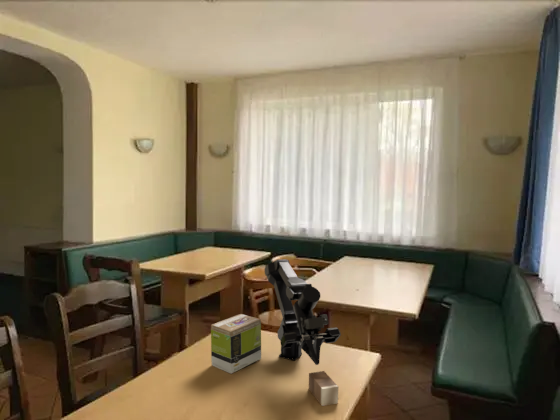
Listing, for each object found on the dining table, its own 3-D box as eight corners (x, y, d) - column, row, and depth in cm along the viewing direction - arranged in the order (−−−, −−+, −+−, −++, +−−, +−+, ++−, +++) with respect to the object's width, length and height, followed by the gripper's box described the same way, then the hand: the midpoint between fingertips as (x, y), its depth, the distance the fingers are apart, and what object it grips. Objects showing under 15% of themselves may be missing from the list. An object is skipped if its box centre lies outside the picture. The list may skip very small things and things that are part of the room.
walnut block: (308, 388, 131) (321, 405, 122) (308, 373, 131) (322, 389, 121) (323, 386, 133) (337, 403, 123) (324, 370, 132) (338, 386, 123)
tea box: (241, 351, 157) (241, 312, 156) (261, 359, 151) (262, 318, 149) (210, 365, 146) (210, 323, 144) (230, 375, 139) (231, 330, 138)
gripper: (283, 308, 131) (295, 357, 122) (339, 303, 137) (354, 350, 128) (275, 324, 139) (286, 372, 130) (328, 318, 145) (341, 364, 136)
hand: (317, 364), depth 131 cm, fingers closed
